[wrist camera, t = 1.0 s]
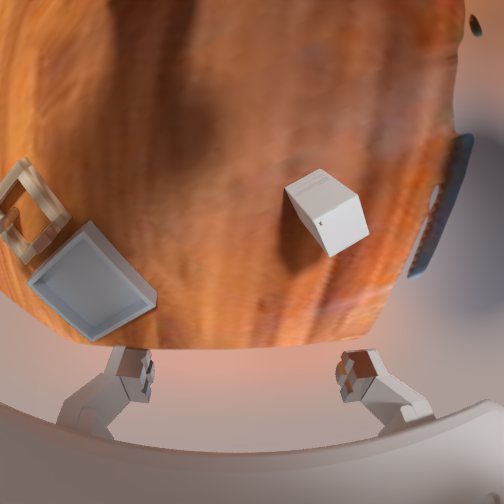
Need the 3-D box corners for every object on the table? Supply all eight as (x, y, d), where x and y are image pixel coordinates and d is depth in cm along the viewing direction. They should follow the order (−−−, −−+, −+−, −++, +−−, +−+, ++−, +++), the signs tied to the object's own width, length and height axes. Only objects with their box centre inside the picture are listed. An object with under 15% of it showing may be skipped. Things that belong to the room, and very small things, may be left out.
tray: (33, 271, 45) (26, 283, 42) (90, 219, 43) (83, 230, 40) (95, 329, 55) (92, 342, 52) (157, 292, 53) (155, 306, 50)
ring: (-11, 205, 36) (-30, 221, 30) (26, 156, 34) (4, 168, 28) (31, 256, 43) (17, 278, 38) (72, 216, 42) (57, 236, 36)
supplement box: (299, 220, 51) (328, 259, 41) (283, 186, 47) (311, 220, 37) (334, 201, 50) (370, 235, 40) (321, 166, 46) (358, 193, 36)
